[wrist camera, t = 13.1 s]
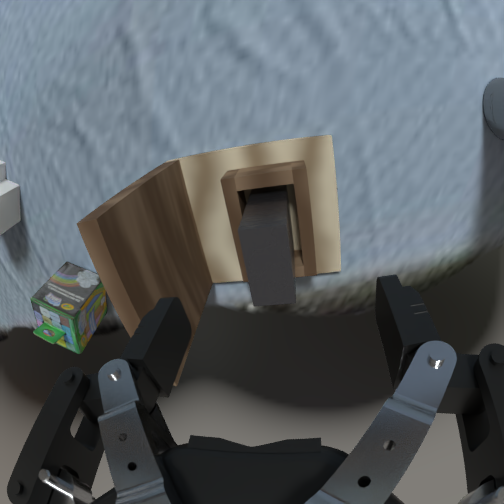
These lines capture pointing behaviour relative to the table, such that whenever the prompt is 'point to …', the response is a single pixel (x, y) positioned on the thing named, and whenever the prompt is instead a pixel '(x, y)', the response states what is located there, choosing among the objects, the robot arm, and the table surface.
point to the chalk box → (70, 307)
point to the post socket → (209, 224)
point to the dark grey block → (268, 246)
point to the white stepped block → (8, 201)
